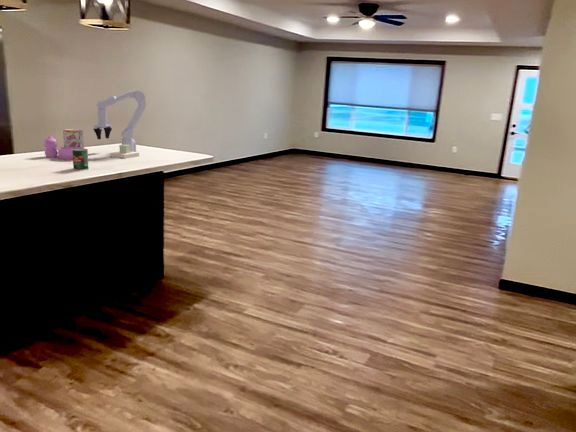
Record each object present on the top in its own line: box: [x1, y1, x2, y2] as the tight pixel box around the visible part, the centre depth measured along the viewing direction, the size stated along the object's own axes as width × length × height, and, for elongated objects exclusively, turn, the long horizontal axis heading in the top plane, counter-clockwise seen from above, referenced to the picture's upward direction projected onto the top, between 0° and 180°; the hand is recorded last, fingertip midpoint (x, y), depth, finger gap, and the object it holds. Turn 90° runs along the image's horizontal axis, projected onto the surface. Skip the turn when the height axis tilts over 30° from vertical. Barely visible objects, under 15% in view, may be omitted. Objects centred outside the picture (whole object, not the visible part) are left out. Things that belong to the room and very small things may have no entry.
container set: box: [44, 135, 85, 161], centre depth 311 cm, size 25×15×13 cm, turn 83°
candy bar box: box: [62, 128, 85, 149], centre depth 322 cm, size 11×5×16 cm, turn 84°
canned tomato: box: [72, 148, 89, 171], centre depth 279 cm, size 8×8×11 cm
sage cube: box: [119, 144, 131, 153], centre depth 330 cm, size 5×5×5 cm
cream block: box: [109, 151, 140, 159], centre depth 330 cm, size 14×12×3 cm
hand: (103, 138), depth 339 cm, fingers open, 7 cm apart
